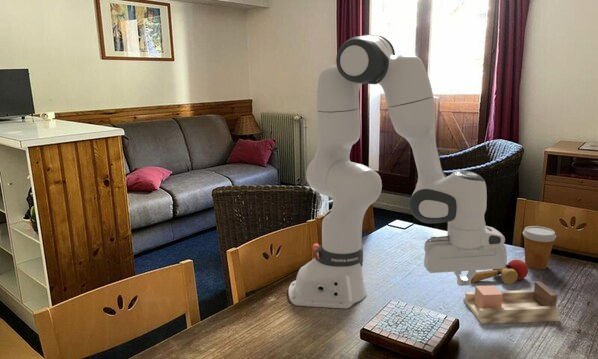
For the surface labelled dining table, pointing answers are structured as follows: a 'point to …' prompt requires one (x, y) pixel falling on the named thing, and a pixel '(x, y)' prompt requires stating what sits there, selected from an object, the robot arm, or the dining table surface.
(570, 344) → the dining table surface
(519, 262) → the kendama
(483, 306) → the salmon pink cube
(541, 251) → the disposable coffee cup
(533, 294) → the channel
